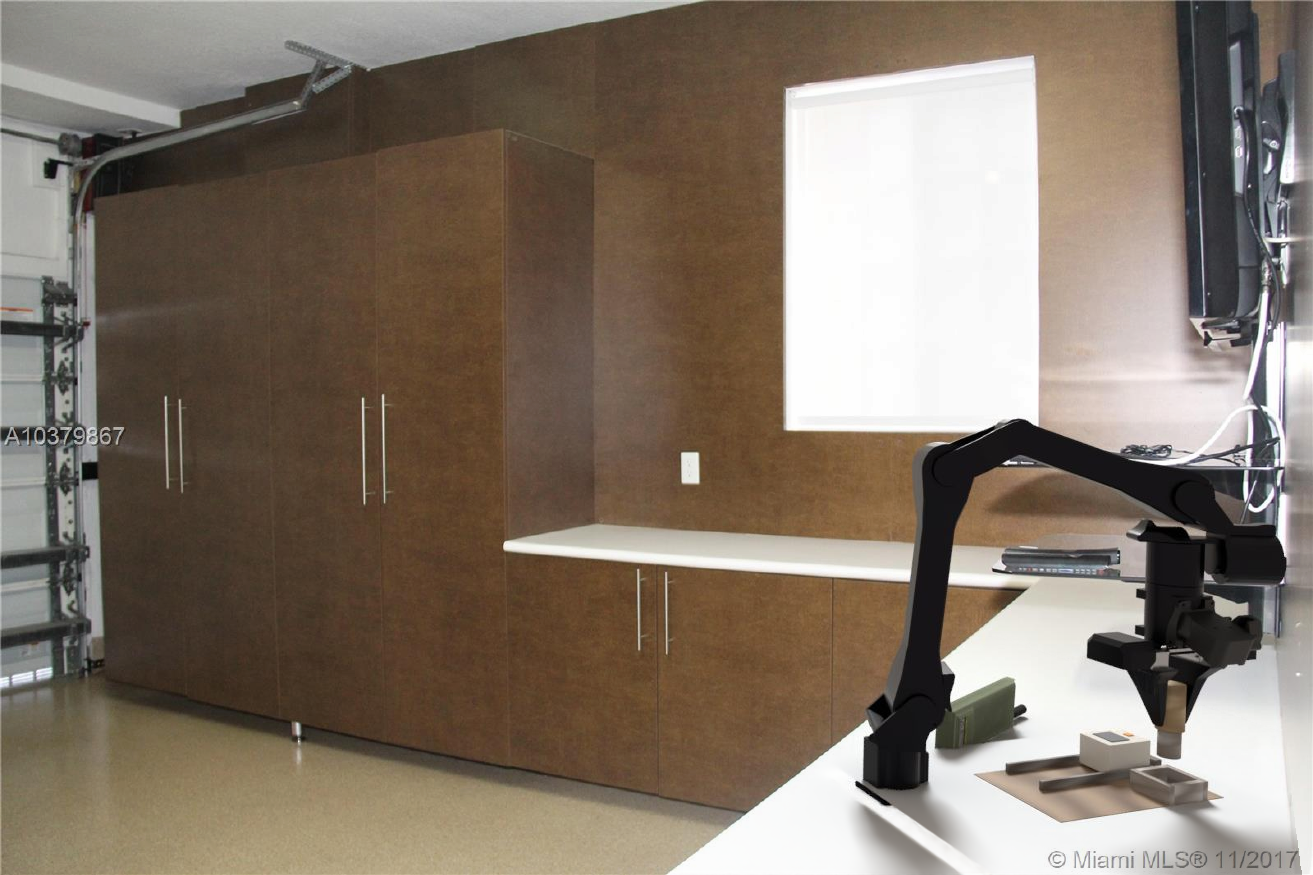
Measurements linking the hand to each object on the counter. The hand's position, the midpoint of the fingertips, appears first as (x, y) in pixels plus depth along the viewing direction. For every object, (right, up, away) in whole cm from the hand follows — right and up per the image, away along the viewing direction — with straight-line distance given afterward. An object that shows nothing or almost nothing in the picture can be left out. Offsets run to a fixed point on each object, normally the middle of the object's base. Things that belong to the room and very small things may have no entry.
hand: (1169, 724), depth 109 cm
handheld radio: (-12, -9, +24) cm, 28 cm away
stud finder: (-3, -7, +8) cm, 11 cm away
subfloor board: (-7, -9, +2) cm, 12 cm away
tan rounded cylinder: (0, -4, 0) cm, 4 cm away
